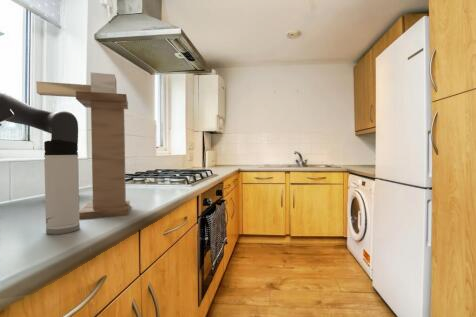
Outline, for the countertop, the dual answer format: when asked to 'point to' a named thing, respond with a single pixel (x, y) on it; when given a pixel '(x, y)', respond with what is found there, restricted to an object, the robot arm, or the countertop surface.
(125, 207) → the stand
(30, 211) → the countertop surface
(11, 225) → the countertop surface
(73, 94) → the mallet
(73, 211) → the travel mug
